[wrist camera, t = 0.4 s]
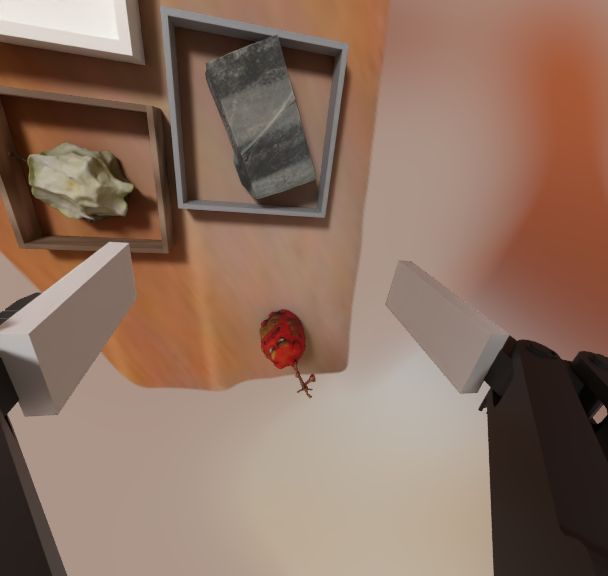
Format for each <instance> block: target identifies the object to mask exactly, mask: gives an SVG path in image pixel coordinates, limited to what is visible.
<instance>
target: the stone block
mask: <svg viewBox="0 0 608 576" xmlns="http://www.w3.org/2000/svg"><path fill="white" fill-rule="evenodd" d="M206 68H207V70H206V73H205V75H206V80H207V83H208V86H209V88H210V91H211V94H212V96H213V98H214V101H215V103H216V106H217V108H218V111H219V113H220V116H221V118H222V121H223V123H224V126H225V128H226V131H227V134H228V136H229V139H230V142H231V145H232V147H233V150H234V164H235V166H236V169H237V172H238V175H239V178H240V180H241V183H242V185H244V186H245V187H246V189H247V190H248V191H249V192H250V193H251V194H252V195H253V197H254V198H256V199H261V198H264V197H267V196H270V195H273V194H277V193H281V192H284V191H286V190H289V189H291V188H294V187H296V186H300V185H302V184H305V183H308V182H311V181H314V180H316V176H315V172H314V168H313V165H312V161H311V157H310V153H309V150H308V146H307V143H306V139H305V135H304V131H303V127H302V123H301V120H300V116H299V112H298V108H297V105H296V101H295V96H294V93H293V91H292V87H291V83H290V79H289V76H288V72H287V68H286V64H285V61H284V57H283V53H282V49H281V45H280V42H279V38H278V35H275V36H272V37H270V38H267V39H265V40H262V41H259V42H256V43H254V44H251V45H248V46H246V47H243V48H241V49H238V50H236V51H233V52H231V53H229V54H226V55H224V56H222V57H219V58H217V59H214V60H211V61H208V62H207V63H206Z"/></svg>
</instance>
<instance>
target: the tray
mask: <svg viewBox="0 0 608 576" xmlns="http://www.w3.org/2000/svg"><path fill="white" fill-rule="evenodd" d="M0 42H2V43H8V44H14V45H21V46H27V47H33V48H39V49H46V50H52V51H58V52H64V53H71V54H77V55H83V56H90V57H96V58H102V59H108V60H115V61H121V62H127V63H133V64H140V65H145V57H144V48H143V40H142V31H141V23H140V14H139V5H138V0H0Z"/></svg>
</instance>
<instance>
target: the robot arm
mask: <svg viewBox="0 0 608 576" xmlns="http://www.w3.org/2000/svg"><path fill="white" fill-rule="evenodd" d="M136 299H137V294H136V287H135V281H134V274H133V267H132V260H131V253H130V246H129V243H121V242H108V243H107V244H106V245H105V246H103V247H102V248H101V249H99V250H98V251H97V252H95V253H94V254H93V255H91V256H90V257H89V258H88V259H86V260H85V261H84V262H82V263H81V264H80V265H78V266H77V267H76V268H74V269H73V270H72V271H70V272H69V273H68V274H67V275H65V276H64V277H63V278H61V279H60V280H59V281H57V282H56V283H55V284H53V285H52V286H51V287H50V288H48V289H47V290H46V291H44V292H43V293H34V294H32V295H30V296H27V297H24V298H22V299H20V300H18V301H16V302H15V303H13V304H12V305H11V306H9V307H8V308H6V309H5V311H2V312H1V313H0V576H67V574H66V571H65V568H64V566H63V563H62V560H61V557H60V555H59V552H58V550H57V547H56V544H55V541H54V538H53V536H52V533H51V531H50V527H49V525H48V522H47V519H46V517H45V514H44V511H43V509H42V506H41V503H40V500H39V498H38V495H37V492H36V489H35V487H34V484H33V481H32V479H31V476H30V473H29V470H28V468H27V465H26V463H25V459H24V457H23V454H22V451H21V449H20V446H19V443H18V440H17V438H16V435H15V432H14V430H13V427H12V424H11V422H10V419H9V417H8V415H7V413H8V412H9V411H10V410H11V409H12V408H13V407H14V405H15V404H16V403H17V402H19V404H20V407H21V409H22V411H23V413H24V416H44V415H58V413H59V412H60V411H61V409H62V408H63V406H64V405H65V403H66V402H67V400H68V399H69V397H70V396H71V394H72V393H73V391H74V390H75V389H76V387H77V386H78V384H79V383H80V381H81V380H82V378H83V377H84V375H85V374H86V372H87V371H88V369H89V368H90V366H91V365H92V363H93V362H94V361H95V359H96V358H97V356H98V355H99V353H100V352H101V350H102V349H103V347H104V346H105V344H106V343H107V341H108V340H109V338H110V337H111V335H112V334H113V332H114V331H115V330H116V328H117V327H118V325H119V324H120V322H121V321H122V319H123V318H124V316H125V315H126V313H127V312H128V310H129V309H130V307H131V306H132V304H133V303H134V302H135V300H136ZM386 306H387V307H388V308H389V309H390V311H391V312H392V313H393V314H394V315H395V317H396V318H397V319H398V320H399V321H400V322H401V323H402V325H403V326H404V327H405V328H406V330H407V331H408V332H409V333H410V334H411V336H412V337H413V338H414V339H415V340H416V342H417V343H418V344H419V345H420V346H421V348H422V349H423V350H424V351H425V352H426V354H427V355H428V356H429V357H430V358H431V359H432V361H433V362H434V363H435V364H436V365H437V367H438V368H439V369H440V370H441V371H442V373H443V374H444V375H445V376H446V377H447V379H448V380H449V381H450V382H451V383H452V384H453V386H454V387H455V388H456V389H457V390H458V392H459V393H460V394H464V393H477V392H478V390H479V389H480V387H481V385H482V383H483V381H486V383H487V384H488V385H489V386H490V387H491V388H490V390H489V391H488V393H487V395H486V397H485V399H484V400H483V402H482V403H481V406H480V407H479V410H480V411H482V410H483V408H486V407H487V414H488V416H487V417H488V438H489V439H488V442H489V465H490V489H491V490H490V491H491V517H492V541H493V565H494V576H608V415H607V416H606V417H605V418H604V419H603V421H602V422H601V423H599V424H597V423H596V422H595V420H594V419H593V418H592V417H593V416H594V415H595V414H596V413H597V411H598V410H599V409H600V408H601V407H602V406H603V405H605V407H606V408H607V413H608V357H604V356H603V355H600V354H595V353H592V352H586V351H581V352H579V353H578V354H577V356H576V357H575V358H574V360H573V361H572V362H571V361H567V360H562V359H561V358H560V357H559V355H558V354H557V353H556V352H554V351H553V350H551V349H549V348H547V347H545V346H544V345H542V344H539V343H537V342H533V341H530V340H519V341H516V340H515V339H514V338H512V337H511V336H510V335H509V334H508V333H507V332H505V331H504V330H502V329H501V328H500V327H499V326H497V325H496V324H494V323H493V322H492V321H490V320H489V319H488V318H487V317H485V316H484V315H483V314H481V313H480V312H478V311H477V310H476V309H474V308H473V307H472V306H470V305H469V304H468V303H466V302H465V301H464V300H462V299H461V298H460V297H458V296H457V295H456V294H454V293H453V292H451V291H450V290H449V289H448V288H446V287H445V286H443V285H442V284H441V283H440V282H438V281H437V280H435V279H434V278H433V277H431V276H430V275H429V274H427V273H426V272H425V271H423V270H422V269H421V268H419V267H418V266H417V265H415V264H414V263H413V262H411V261H398V265H397V268H396V271H395V275H394V278H393V281H392V284H391V288H390V291H389V294H388V298H387V301H386Z"/></svg>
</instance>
